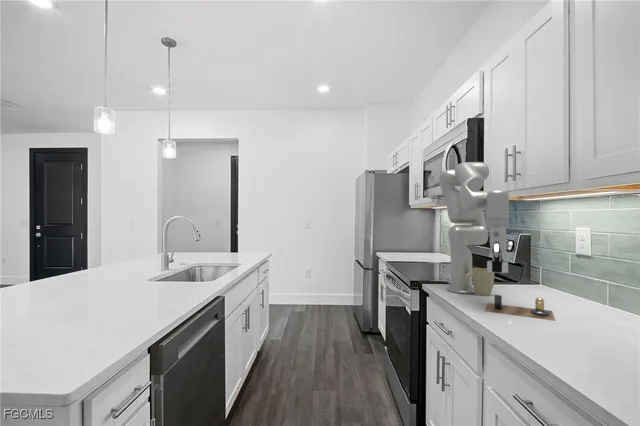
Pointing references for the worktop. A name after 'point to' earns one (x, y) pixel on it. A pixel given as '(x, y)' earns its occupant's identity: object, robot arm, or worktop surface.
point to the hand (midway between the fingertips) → (497, 270)
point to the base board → (517, 311)
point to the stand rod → (497, 301)
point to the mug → (481, 281)
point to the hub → (539, 308)
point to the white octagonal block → (504, 267)
